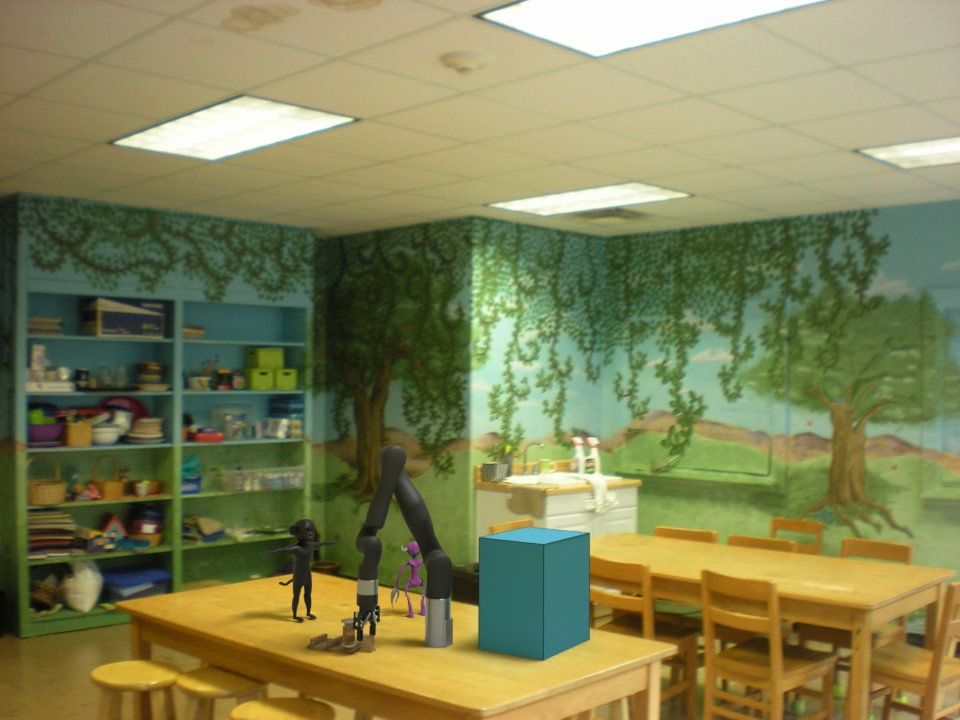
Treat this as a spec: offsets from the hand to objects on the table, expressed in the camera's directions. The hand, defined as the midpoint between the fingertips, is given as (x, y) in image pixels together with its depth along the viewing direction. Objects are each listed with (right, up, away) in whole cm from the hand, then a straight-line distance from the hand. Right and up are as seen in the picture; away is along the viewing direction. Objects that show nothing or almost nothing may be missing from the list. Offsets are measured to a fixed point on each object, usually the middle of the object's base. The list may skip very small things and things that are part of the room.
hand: (366, 638), depth 344 cm
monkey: (-35, -6, +51) cm, 62 cm away
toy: (+13, -7, +55) cm, 57 cm away
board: (-11, -5, +5) cm, 13 cm away
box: (+60, -6, +8) cm, 61 cm away
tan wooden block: (+1, -5, 0) cm, 5 cm away
